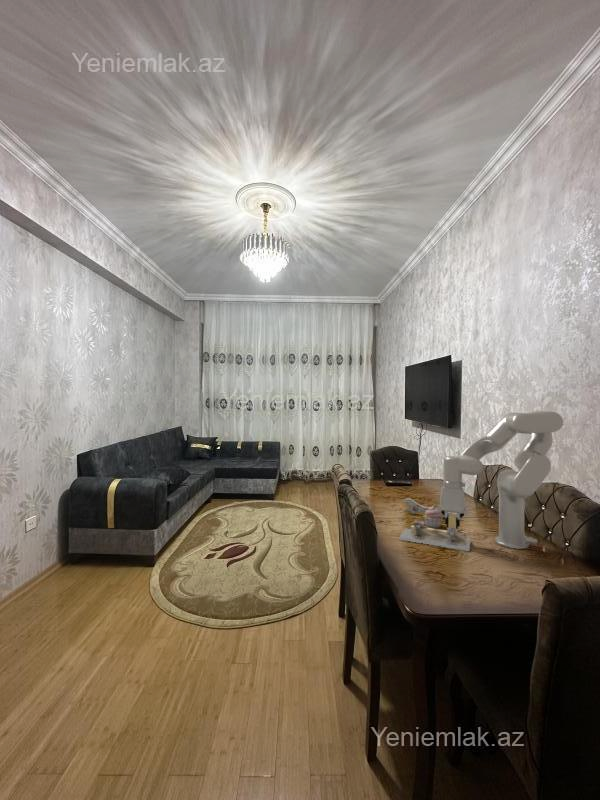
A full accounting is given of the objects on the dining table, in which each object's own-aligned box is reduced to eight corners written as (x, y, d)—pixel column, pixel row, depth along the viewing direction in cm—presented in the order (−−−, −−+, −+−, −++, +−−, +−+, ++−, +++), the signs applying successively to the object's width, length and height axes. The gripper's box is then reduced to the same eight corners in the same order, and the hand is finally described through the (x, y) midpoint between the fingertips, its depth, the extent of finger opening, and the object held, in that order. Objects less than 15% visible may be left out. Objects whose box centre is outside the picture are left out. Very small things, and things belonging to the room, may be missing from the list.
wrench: (460, 526, 189) (401, 512, 201) (460, 525, 190) (401, 511, 203) (462, 511, 188) (403, 497, 201) (462, 510, 190) (403, 497, 202)
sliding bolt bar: (466, 538, 159) (466, 527, 159) (465, 543, 153) (465, 532, 153) (411, 530, 169) (412, 519, 169) (409, 534, 164) (409, 523, 164)
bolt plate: (470, 541, 159) (470, 538, 159) (469, 551, 149) (469, 547, 149) (404, 531, 172) (404, 527, 172) (399, 539, 161) (399, 536, 161)
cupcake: (439, 530, 173) (439, 509, 173) (420, 526, 179) (420, 506, 179) (445, 525, 180) (445, 505, 181) (426, 521, 186) (426, 502, 186)
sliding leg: (457, 536, 161) (457, 515, 161) (456, 541, 155) (456, 519, 155) (447, 534, 162) (447, 513, 162) (446, 539, 157) (446, 517, 157)
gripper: (473, 485, 160) (473, 527, 160) (433, 481, 167) (433, 521, 167) (473, 488, 153) (472, 532, 153) (431, 484, 160) (431, 526, 160)
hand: (452, 526), depth 160 cm, fingers closed on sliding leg, 3 cm apart
